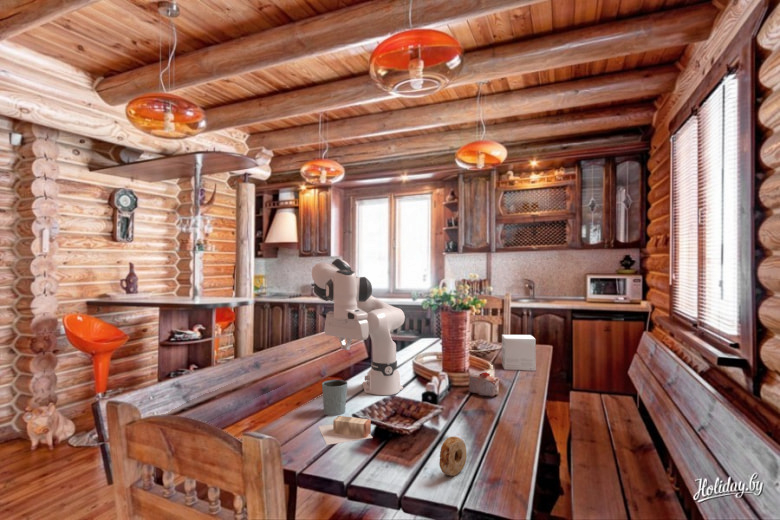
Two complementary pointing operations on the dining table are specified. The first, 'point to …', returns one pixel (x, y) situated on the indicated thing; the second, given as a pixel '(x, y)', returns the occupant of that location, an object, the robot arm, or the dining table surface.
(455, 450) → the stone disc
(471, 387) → the food item
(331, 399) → the grey green cup
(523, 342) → the supplement box
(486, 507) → the dining table surface
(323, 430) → the felt mat
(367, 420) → the birch block
